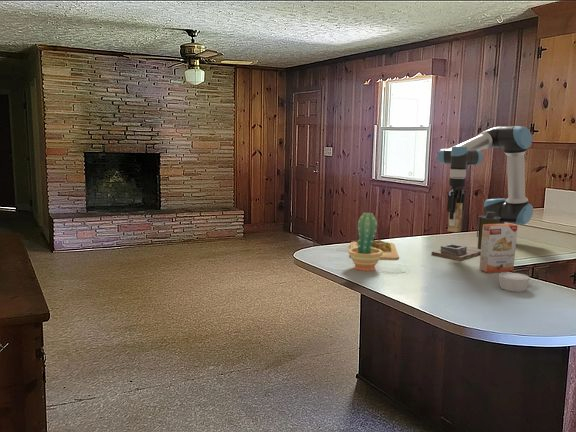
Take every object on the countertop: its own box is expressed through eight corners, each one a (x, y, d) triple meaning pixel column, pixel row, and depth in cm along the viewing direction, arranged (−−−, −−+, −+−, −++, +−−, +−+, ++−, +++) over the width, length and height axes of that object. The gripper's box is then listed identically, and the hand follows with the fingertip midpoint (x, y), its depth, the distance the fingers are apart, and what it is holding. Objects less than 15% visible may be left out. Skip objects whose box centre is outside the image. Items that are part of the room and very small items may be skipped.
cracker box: (487, 273, 233) (490, 226, 229) (478, 270, 238) (481, 223, 235) (514, 271, 236) (518, 224, 233) (505, 268, 242) (509, 222, 239)
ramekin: (503, 283, 218) (504, 270, 217) (532, 288, 211) (533, 275, 210) (493, 289, 210) (494, 276, 209) (523, 294, 203) (524, 281, 202)
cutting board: (399, 261, 256) (399, 245, 255) (349, 259, 259) (350, 244, 258) (393, 246, 291) (394, 232, 290) (350, 244, 294) (350, 231, 292)
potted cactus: (388, 267, 241) (391, 212, 237) (369, 274, 230) (371, 216, 226) (360, 262, 251) (361, 209, 247) (340, 268, 240) (342, 213, 236)
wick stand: (456, 247, 284) (457, 239, 283) (485, 253, 272) (485, 244, 272) (431, 254, 268) (431, 245, 267) (460, 260, 256) (461, 251, 255)
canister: (495, 248, 284) (497, 210, 281) (500, 252, 274) (503, 213, 271) (474, 247, 285) (476, 210, 282) (478, 251, 275) (481, 213, 272)
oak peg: (452, 230, 268) (454, 202, 266) (460, 231, 265) (462, 203, 262) (447, 231, 265) (449, 203, 263) (455, 232, 262) (457, 203, 259)
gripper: (459, 176, 269) (457, 222, 273) (441, 178, 257) (438, 226, 261) (473, 177, 264) (470, 224, 267) (455, 179, 252) (452, 228, 256)
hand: (454, 225), depth 264 cm, fingers closed on oak peg, 4 cm apart
